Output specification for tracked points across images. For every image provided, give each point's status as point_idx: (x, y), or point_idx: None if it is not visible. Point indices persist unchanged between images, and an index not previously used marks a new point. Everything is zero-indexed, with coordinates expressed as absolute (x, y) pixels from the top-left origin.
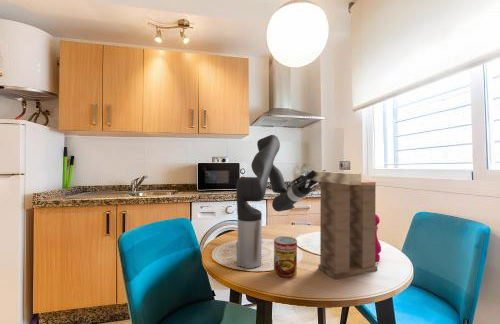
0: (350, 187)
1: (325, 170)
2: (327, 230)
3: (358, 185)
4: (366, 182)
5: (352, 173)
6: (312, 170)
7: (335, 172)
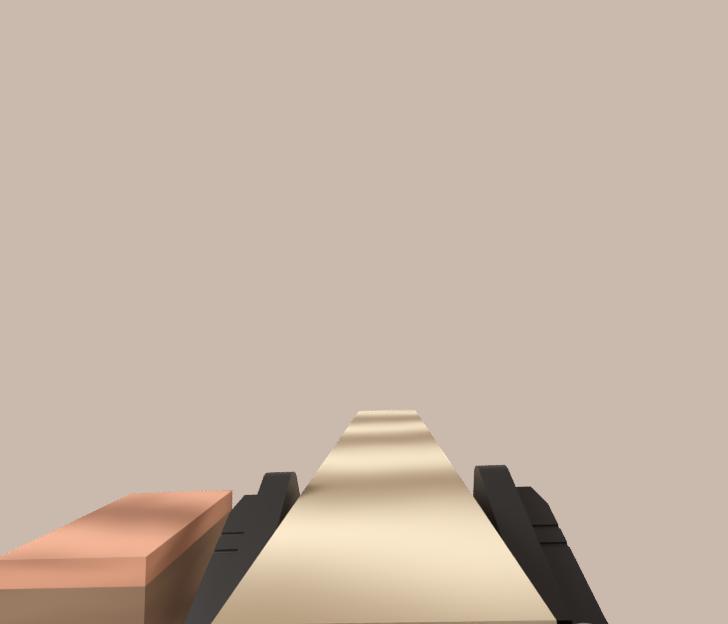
0: (175, 595)
1: (276, 474)
2: None
3: (217, 528)
4: (202, 493)
5: (387, 412)
6: (505, 469)
7: (394, 428)
